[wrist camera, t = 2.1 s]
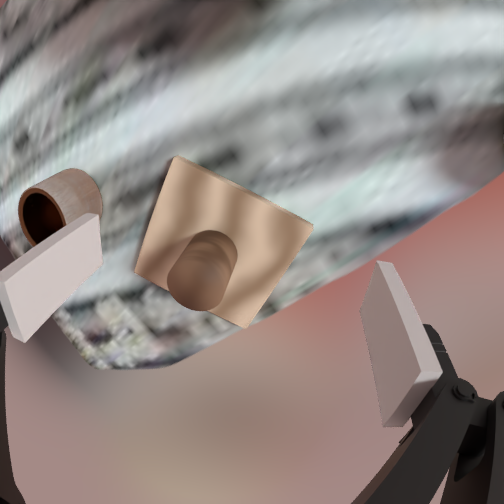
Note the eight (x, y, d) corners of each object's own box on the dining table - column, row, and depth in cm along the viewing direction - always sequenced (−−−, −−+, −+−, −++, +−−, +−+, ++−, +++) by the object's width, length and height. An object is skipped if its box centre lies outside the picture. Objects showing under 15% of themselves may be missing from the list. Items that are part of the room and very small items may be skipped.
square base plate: (137, 267, 49) (108, 303, 40) (178, 155, 39) (143, 174, 30) (247, 323, 51) (236, 368, 42) (313, 224, 41) (315, 262, 32)
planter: (86, 241, 48) (53, 270, 40) (47, 199, 45) (10, 221, 37) (116, 199, 44) (79, 225, 35) (72, 153, 41) (30, 170, 33)
